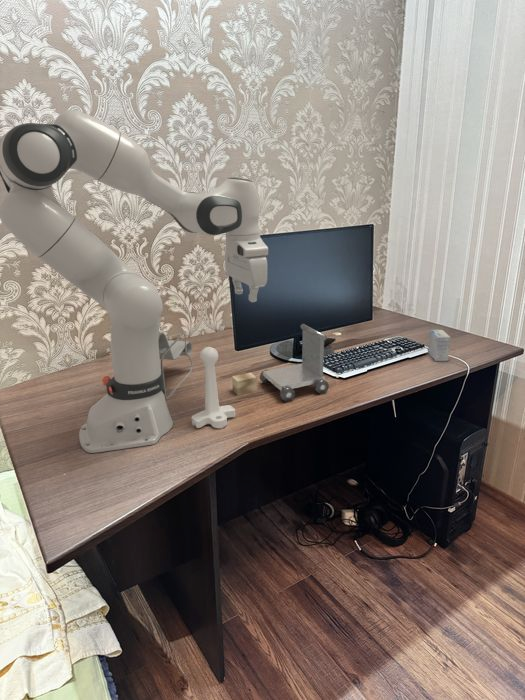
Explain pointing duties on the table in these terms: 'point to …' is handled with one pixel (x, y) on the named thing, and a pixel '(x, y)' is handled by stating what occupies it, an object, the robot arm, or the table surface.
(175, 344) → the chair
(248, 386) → the chock
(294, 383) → the cart
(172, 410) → the table surface
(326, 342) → the microphone
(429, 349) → the medicine box
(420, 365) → the table surface
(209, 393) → the joystick
